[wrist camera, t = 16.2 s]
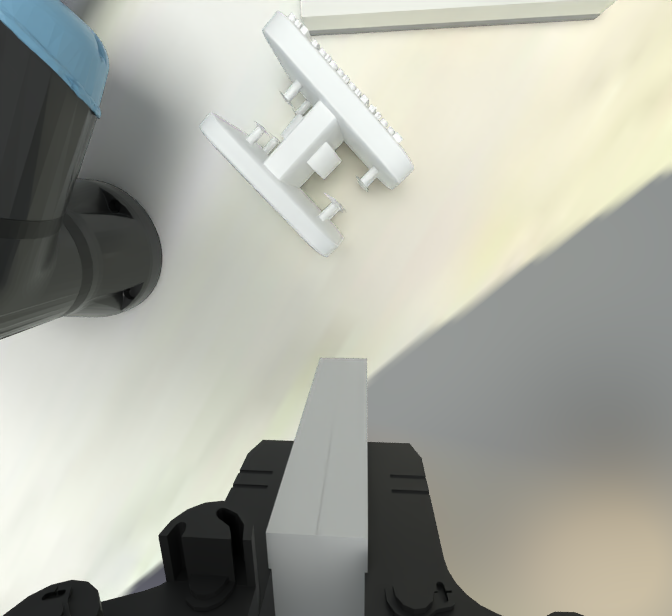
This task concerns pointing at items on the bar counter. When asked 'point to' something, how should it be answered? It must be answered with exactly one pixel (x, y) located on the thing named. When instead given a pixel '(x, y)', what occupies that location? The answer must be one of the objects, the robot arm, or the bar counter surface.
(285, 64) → the cable organizer
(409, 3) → the socket plate
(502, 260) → the bar counter surface
